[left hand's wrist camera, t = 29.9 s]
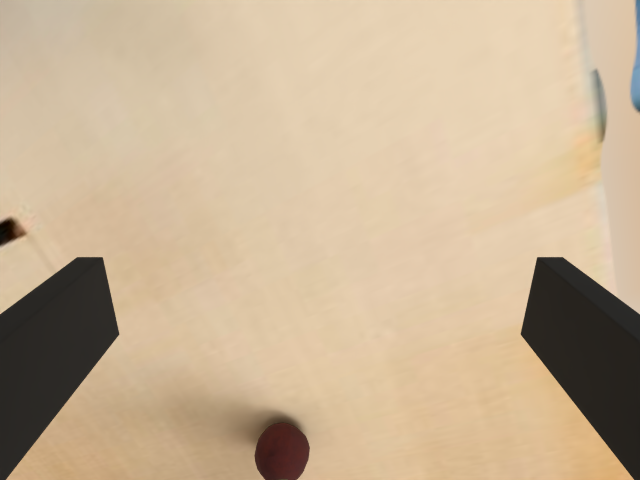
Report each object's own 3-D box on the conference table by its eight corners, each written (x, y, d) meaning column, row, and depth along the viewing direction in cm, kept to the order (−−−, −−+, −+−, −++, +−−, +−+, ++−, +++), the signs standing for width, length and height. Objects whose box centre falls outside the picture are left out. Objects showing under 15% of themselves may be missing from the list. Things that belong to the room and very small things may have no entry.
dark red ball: (271, 456, 61) (265, 502, 54) (250, 419, 58) (241, 462, 51) (317, 444, 60) (317, 489, 53) (298, 405, 57) (295, 448, 50)
